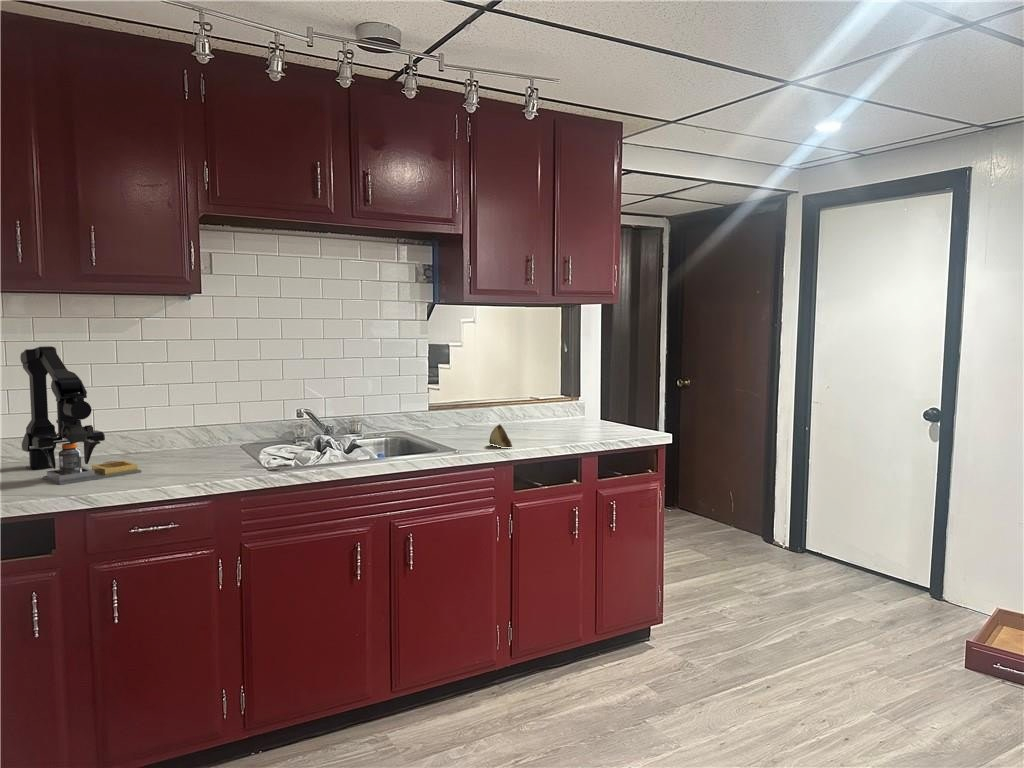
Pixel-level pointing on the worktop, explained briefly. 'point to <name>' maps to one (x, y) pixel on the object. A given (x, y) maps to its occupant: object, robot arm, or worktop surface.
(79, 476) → the faceplate
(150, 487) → the worktop surface
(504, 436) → the rock
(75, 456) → the pill bottle
